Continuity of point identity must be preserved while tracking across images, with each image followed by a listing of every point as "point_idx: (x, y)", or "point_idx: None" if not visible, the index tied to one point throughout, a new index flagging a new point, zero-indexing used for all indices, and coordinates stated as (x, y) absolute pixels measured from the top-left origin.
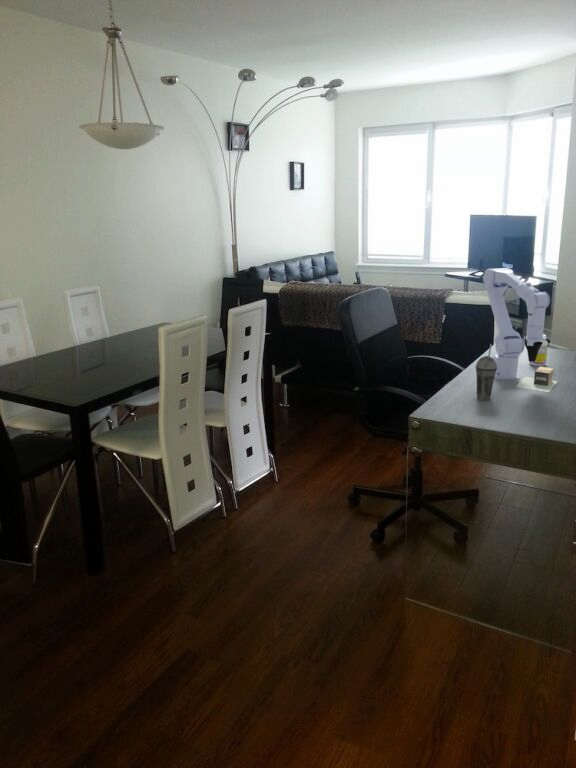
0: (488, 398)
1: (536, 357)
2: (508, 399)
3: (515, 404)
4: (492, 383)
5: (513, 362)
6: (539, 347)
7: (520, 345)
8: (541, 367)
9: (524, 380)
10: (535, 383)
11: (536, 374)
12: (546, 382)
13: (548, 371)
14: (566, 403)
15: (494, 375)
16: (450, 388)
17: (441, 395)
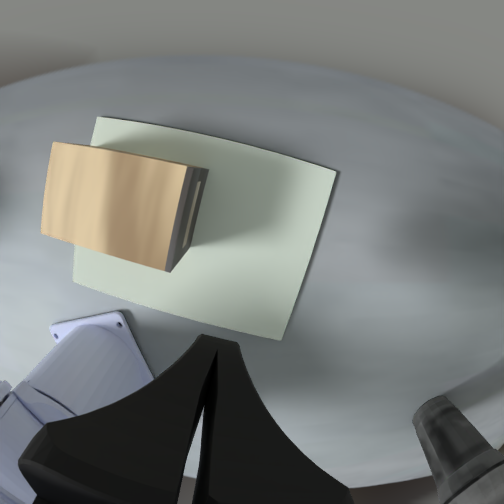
0: (449, 401)
1: (197, 350)
2: (443, 348)
3: (486, 320)
4: (475, 430)
5: (98, 401)
6: (246, 463)
7: (3, 438)
8: (55, 221)
9: (139, 291)
10: (191, 238)
11: (178, 254)
12: (204, 177)
13: (139, 171)
14: (463, 122)
15: (487, 447)
16: None
17: (393, 480)
